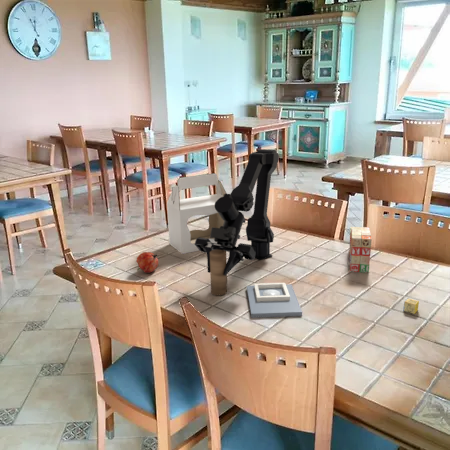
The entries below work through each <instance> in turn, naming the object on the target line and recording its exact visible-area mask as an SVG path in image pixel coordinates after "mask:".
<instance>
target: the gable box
mask: <svg viewBox="0 0 450 450" xmlns="http://www.w3.org/2000/svg"><path fill="white" fill-rule="evenodd" d="M176 183H177V185H175V186H171V194H170V196H169V198H168V200H167V202H166V209H167V226H168V238H169V239H168V241H169V245H171V246H172V248H174V249H176V251H178V252H179V253H180V254H182V255H183V254H185V255H186V254H189V253H194V252H201V251H200V250H199V249H198V248H197V247H196V246H195V241H196V239H197V238H199V237H200V238H207V239H209V240H210V241H211V242H212V243H215V244H217V242H215V241H214V238H210V236H211V230H212V227H214V228H220V227H221V226H223V224H224V220H223V219H222V218H221V216H220V215H219V214H218V212H217V211H216V209H215V202H216V201H217V200H218V199H219V198H221V197H224V194H228V192H227V191H226V190H225V187H224V181H223V180H222V179H220V180H219V179H218V174H217V173H215V172H214V173H206V174H199V175H189V176H183V177H179V178H178V179H177V180H176ZM209 186H215V194H214V193H213V194H209V195H207V194H206V195H202V196H201V195H200V196H194V197H188V198H181V197H180V196H181V194H180V192H181V190H186V189H195V188H202V187H209ZM195 216H208V220H207V221H208V228H207V229H205V230H202V229H192V230H190V228H189V226H188V220H189V219H190V218H192V217H195Z"/></svg>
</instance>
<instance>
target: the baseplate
mask: <svg viewBox="0 0 450 450" xmlns="http://www.w3.org/2000/svg"><path fill="white" fill-rule="evenodd" d="M246 291H247V292H246V293H247V297H248V298H247V299H248V305H249V311H250V312H249V313H250V317H251V318H274V317H275V318H276V317H283V318H284V317H302V316H303V311H302V308H301V306H300V302H299V299H298V297H297V294H296V292H295V289H294V288H293V284H292V283H290V284H288V283H287V284H286V282H263V283H253V285H246Z"/></svg>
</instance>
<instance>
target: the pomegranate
mask: <svg viewBox="0 0 450 450" xmlns="http://www.w3.org/2000/svg"><path fill="white" fill-rule="evenodd" d="M159 256H160V255H158V254H157V253H156V254H154V253H152V252H151V251H150V252H149V251H143V252H142V253H139V255H137V258H136V263H137V265H138V269H137V270H136V271H137V272H138V271H139V270H141V271H142V272H144V273H145V274H150V273H153V272H154V271H155V270H156V269H157V268H158V267H159V259H158V258H157V257H159Z"/></svg>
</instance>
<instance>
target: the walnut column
mask: <svg viewBox="0 0 450 450" xmlns="http://www.w3.org/2000/svg"><path fill="white" fill-rule="evenodd" d="M227 261H228V260H227V251H225V250H220V249H217V250H212V251H210V273H209V274H210V293H211V294H212V295H214V296H224V295H226V294H227V293H228V274H227V275H226V276H224V275H223V273H224V269H225V267H226V264H227Z"/></svg>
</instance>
